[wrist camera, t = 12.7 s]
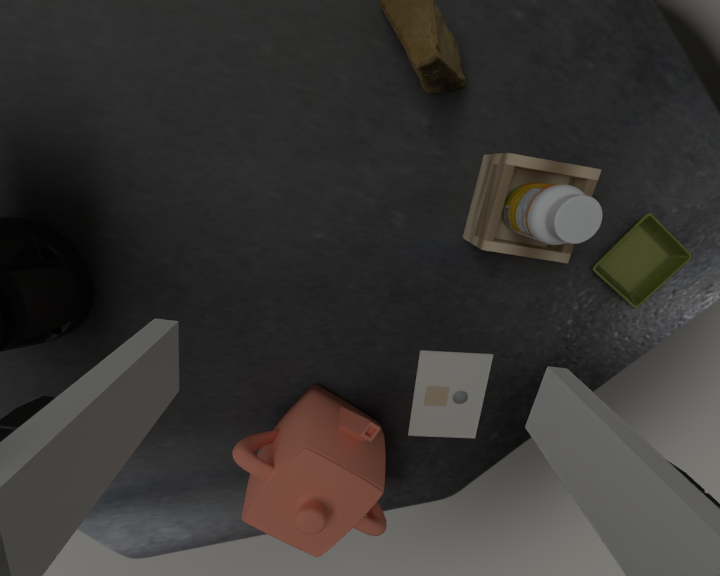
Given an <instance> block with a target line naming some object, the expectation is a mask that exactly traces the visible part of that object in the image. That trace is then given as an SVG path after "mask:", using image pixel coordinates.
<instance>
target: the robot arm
mask: <svg viewBox="0 0 720 576" xmlns="http://www.w3.org/2000/svg"><path fill="white" fill-rule="evenodd" d="M92 296H93V291H92V283H91V279H90V276H89V273H88V271H87V268H86V266H85V264H84V263H83V261H82V259H81V258H80V256H79V255H78V254H77V252H76V251H75V250H74V249H73V248H72V247H71V246H70V245H69V244H68V243H67V242H66V241H65V240H64V239H63V238H61V237H60V236H59V235H57V234H56V233H54V232H53V231H51V230H50V229H48V228H46V227H44V226H42V225H40V224H37V223H34V222H31V221H28V220H24V219H19V218H0V352H1V351H6V350H11V349H16V348H21V347H26V346H31V345H36V344H41V343H45V342H49V341H52V340H54V339H57V338H59V337H61V336H63V335H64V334H66V333H68V332H69V331H71V330H73V329H74V328H76V327H77V326H78V325H80V324H81V323H82V321H83V320H84V319H85V318H86V316H87V314H88V312H89V310H90V307H91V304H92ZM178 392H179V321H171V320H163V319H154V320H152V321H151V322H150V323H149V324H147V325H146V326H145V327H144V328H142V329H141V330H140V331H139V332H137V333H136V334H135V335H134V336H132V337H131V338H130V339H129V340H127V341H126V342H125V343H124V344H122V345H121V346H120V347H119V348H117V349H116V350H115V351H114V352H112V353H111V354H110V355H109V356H107V357H106V358H105V359H104V360H102V361H101V362H100V363H99V364H97V365H96V366H95V367H94V368H92V369H91V370H90V371H89V372H87V373H86V374H85V375H84V376H82V377H81V378H80V379H79V380H77V381H76V382H75V383H74V384H72V385H71V386H70V387H69V388H67V389H66V390H65V391H64V392H62V393H61V394H60V395H59V396H57V397H49V396H42V397H40V398H38V399H35V400H33V401H31V402H29V403H27V404H25V405H22V406H20V407H18V408H16V409H15V410H13V411H12V412H10V413H9V414H8V415H6V416H5V417H4V418H2V419H1V420H0V576H42V575H43V574H44V573H45V571H46V570H47V569H48V567H49V566H50V565H51V563H52V562H53V561H54V559H55V558H56V556H57V555H58V554H59V552H60V551H61V550H62V548H63V547H64V546H65V544H66V543H67V542H68V540H69V539H70V538H71V536H72V535H73V533H74V532H75V531H76V529H77V528H78V527H79V525H80V524H81V523H82V521H83V520H84V519H85V517H86V516H87V515H88V513H89V512H90V511H91V509H92V508H93V507H94V505H95V504H96V502H97V501H98V500H99V498H100V497H101V496H102V494H103V493H104V492H105V490H106V489H107V488H108V486H109V485H110V484H111V482H112V481H113V479H114V478H115V477H116V475H117V474H118V473H119V471H120V470H121V469H122V467H123V466H124V465H125V463H126V462H127V461H128V459H129V458H130V457H131V455H132V454H133V452H134V451H135V450H136V448H137V447H138V446H139V444H140V443H141V442H142V440H143V439H144V438H145V436H146V435H147V434H148V432H149V431H150V429H151V428H152V427H153V425H154V424H155V423H156V421H157V420H158V419H159V417H160V416H161V415H162V413H163V412H164V411H165V409H166V408H167V407H168V405H169V404H170V402H171V401H172V400H173V398H174V397H175V396H176V394H177V393H178ZM525 428H526V430H527V431H528V433H529V434H530V435H531V437H532V438H533V440H534V441H535V443H536V444H537V446H538V447H539V448H540V450H541V452H542V453H543V454H544V456H545V457H546V459H547V460H548V462H549V463H550V465H551V466H552V468H553V469H554V471H555V472H556V474H557V475H558V476H559V478H560V479H561V481H562V482H563V484H564V485H565V487H566V488H567V489H568V491H569V492H570V494H571V495H572V497H573V498H574V500H575V501H576V503H577V504H578V506H579V507H580V509H581V510H582V512H583V513H584V515H585V516H586V517H587V519H588V520H589V522H590V523H591V525H592V526H593V528H594V529H595V531H596V532H597V534H598V535H599V537H600V538H601V539H602V541H603V542H604V544H605V545H606V546H607V548H608V549H609V551H610V552H611V554H612V556H613V557H614V558H615V560H616V561H617V563H618V564H619V566H620V567H621V569H622V570H623V572H624V573H625V575H626V576H720V504H719V503H718V502H717V501H716V500H715V499H714V498H713V497H712V496H711V495H709V494H708V493H705V492H704V491H705V490H704V489H703V488H702V487H701V486H700V485H698V484H697V483H696V482H695V481H694V480H693V479H692V478H691V477H689V476H688V475H687V474H686V473H685V472H684V471H682V470H681V469H679V468H678V467H676V466H675V465H673V464H672V463H670V462H669V461H667V460H666V459H665V458H664V457H663V456H662V455H660V454H659V453H658V452H657V451H656V450H655V449H654V448H653V447H652V446H651V445H650V444H649V443H647V442H646V441H645V440H644V439H643V438H642V437H641V436H640V435H639V434H638V433H637V432H635V431H634V430H633V429H632V428H631V427H630V426H629V425H628V424H627V423H626V422H625V421H624V420H622V419H621V418H620V417H619V416H618V415H617V414H616V413H615V412H614V411H613V410H612V409H610V408H609V407H608V406H607V405H606V404H605V403H604V402H603V401H602V400H601V399H600V398H598V397H597V396H596V395H595V394H594V393H593V392H592V391H591V390H590V389H589V388H588V387H587V386H585V385H584V384H583V383H582V382H581V381H580V380H579V379H578V378H577V377H576V376H575V375H574V374H572V373H571V372H570V371H569V370H568V369H566V368H557V367H549V366H548V367H547V369H546V372H545V375H544V377H543V380H542V383H541V385H540V388H539V391H538V394H537V396H536V399H535V402H534V404H533V407H532V410H531V412H530V415H529V418H528V420H527V423H526V426H525Z"/></svg>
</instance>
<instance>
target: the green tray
mask: <svg viewBox="0 0 720 576" xmlns="http://www.w3.org/2000/svg"><path fill="white" fill-rule="evenodd" d="M691 258H692V255H691V253H690V252H689V251H688V250H687V249H686V248H685V247H684V246H683V245H682V244H681V243H680V242H679V241H678V240H677V239H676V238H675V237H674V236H673V235H672V234H671V233H670V232H669V231H668V230H667V229H666V228H665V227H664V226H663V225H662V224H661V223H660V222H659V221H658V220H657V219H656V218H655V217H654V216H653V215H652V214H651V213H648V214H646V215H645V216H643V217H642V218H641V219H639V220H638V221H637V222H636V223H635V224H634V225H633V226H632V227H631V228H630V229H629V230H628V231H627V232H626V233H625V234H624V235H623V236H622V237H621V238H620V239H619V240H618V241H617V242H616V243H615V244H614V245H613V246H612V247H611V248H610V249H609V250H608V251H607V252H606V253H605V254H604V255H603V256H602V257H601V258H600V259H599V260H598V261H597V262H596V263H595V264H594V265H593V271H594V272H595V273H596V274H597V275H598V276H599V277H600V278H602V279H603V280H604V281H605V282H606V283H607V284H608V285H609V286H610V287H611V288H613V289H614V290H615V291H616V292H617V293H618V294H619V295H620V296H621V297H623V298H624V299H625V300H626V301H627V302H628V303H629V304H630V305H631V306H632V307H634V308H636V307H638V306H640V305H641V304H642V303H643V302H644V301H645V300H646V299H647V298H649V297H650V296H651V295H652V294H653V293H654V292H655V291H656V290H657V289H658V288H659V287H660V286H662V285H663V284H664V283H665V282H666V281H667V280H668V279H669V278H670V277H671V276H673V275H674V274H675V273H676V272H677V271H678V270H679V269H680V268H681V267H683V266H684V265H685V264H686V263H687V262H688V261H689V260H690V259H691Z"/></svg>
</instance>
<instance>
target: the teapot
mask: <svg viewBox="0 0 720 576" xmlns="http://www.w3.org/2000/svg"><path fill="white" fill-rule="evenodd" d="M259 448H260V449H259ZM257 449H259V451H258V453H257V455H255V454H254V451H256V450H257ZM232 454H233V458H234V460H235V462H236V463H237V464H238V465H239V466H240V467H242V468H243V469H244V470H246V471H247V472H249V473H250V477H249V481H248V486H247V491H246V496H245V501H244V507H243V512H242V520H243V521H244V522H246V523H247V524H249V525H251V526H253V527H255V528H257V529H259V530H261V531H263V532H265V533H267V534H269V535H271V536H272V537H274V538H277V539H279V540H281V541H283V542H285V543H287V544H289V545H291V546H293V547H296V548H298V549H300V550H302V551H304V552H307V553H309V554H311V555H313V556H315V557H319V556H321V555H322V554H324V553H325V552H326V551H328V550H329V549H330V548H331V547H332V546H334V545H335V544H336V543H337V542H338V541H339V540H340V539H341V538H342V537H344V536H345V535H346V534H347V533H348V532H349V531H350V530H351V529H352V528H355V529H357V530H359V531H361V532H363V533H366V534H368V535H372V536H378V535H381V534H382V533H384V531H385V530H386V519H385V516H384V513H383V511H382V509H381V507H380V505H379V503H378V500H379V498H380V497H381V496H382V494H383V492H384V485H385V440H384V434H383V431H382V428H381V425H380V424H379V423H378V422H377V421H376V420H374V419H373V418H371V417H370V416H368V415H367V414H365V413H364V412H362V411H361V410H359V409H357V408H356V407H354V406H353V405H351V404H349V403H348V402H346V401H344V400H343V399H341V398H340V397H338V396H336V395H334V394H333V393H331V392H329V391H328V390H326V389H324V388H322V387H321V386H319V385H316V384H314V385H312V386H311V387H310V388H308V389H307V390H306V391H305V392H304V393H303V394H302V395H301V396H300V397H299V398H298V399H297V401H296V402H295V403H294V404H293V405H292V406H291V407H290V408H289V409H288V410H287V411H286V413H285V414H284V415H283V416H282V417H281V419H280V420H279V421H278V423H277V424H276V425H275V427H274V428H273V429H272V431H266V432H261V433H257V434H253V435H250V436H247V437H246V438H244V439H242V440H241V441H239V442H238V443H237V444H236V445H235V447H234V449H233V453H232ZM365 514H366V515H367V516H365Z"/></svg>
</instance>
